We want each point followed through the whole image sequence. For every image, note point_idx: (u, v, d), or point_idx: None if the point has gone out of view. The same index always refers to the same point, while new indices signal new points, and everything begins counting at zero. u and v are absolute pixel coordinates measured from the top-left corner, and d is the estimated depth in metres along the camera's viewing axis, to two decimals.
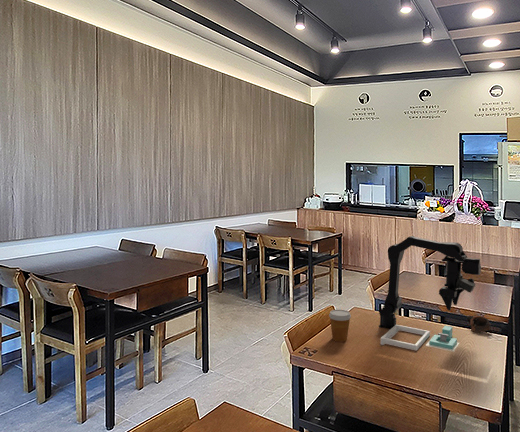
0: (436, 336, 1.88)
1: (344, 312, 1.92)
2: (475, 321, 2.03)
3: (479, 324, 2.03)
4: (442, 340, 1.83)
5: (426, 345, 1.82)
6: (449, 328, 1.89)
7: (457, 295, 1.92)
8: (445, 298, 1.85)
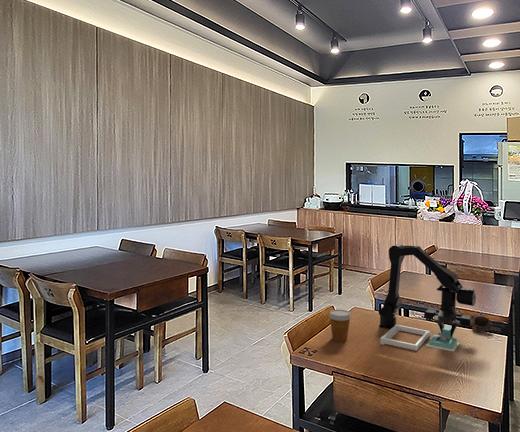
0: (436, 336, 1.88)
1: (344, 312, 1.92)
2: (476, 321, 2.03)
3: (480, 324, 2.04)
4: (442, 340, 1.83)
5: (426, 345, 1.82)
6: (449, 328, 1.89)
7: (451, 328, 1.88)
8: None
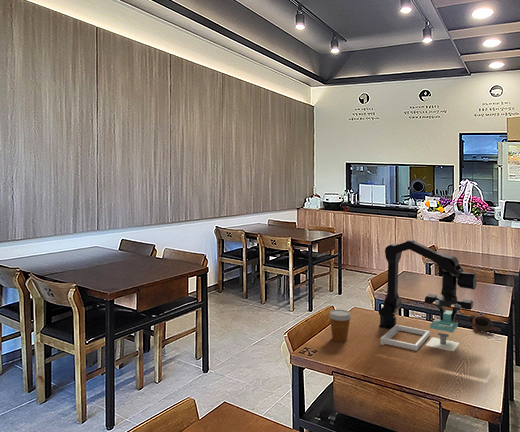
0: (437, 320, 1.87)
1: (344, 312, 1.92)
2: (477, 321, 2.03)
3: (481, 324, 2.04)
4: (442, 340, 1.83)
5: (426, 345, 1.82)
6: (450, 312, 1.88)
7: (452, 312, 1.87)
8: None
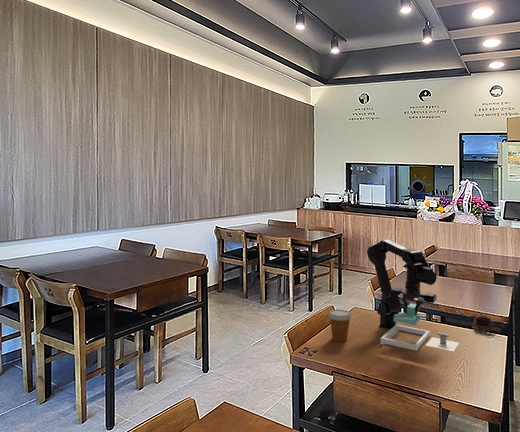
0: (401, 313, 1.90)
1: (344, 312, 1.92)
2: (478, 321, 2.03)
3: (482, 324, 2.04)
4: (442, 340, 1.83)
5: (426, 345, 1.82)
6: (414, 306, 1.91)
7: (416, 305, 1.90)
8: None
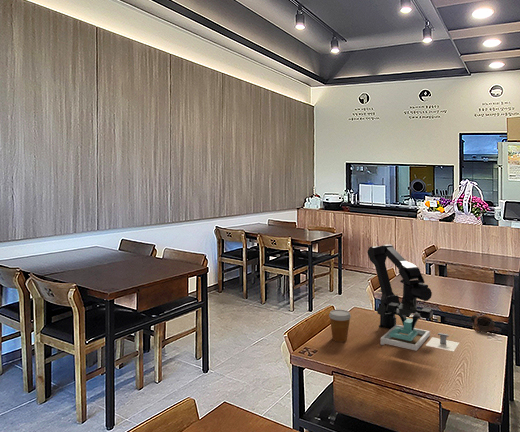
0: (397, 329, 1.91)
1: (344, 312, 1.92)
2: (479, 321, 2.04)
3: (483, 324, 2.04)
4: (442, 340, 1.83)
5: (426, 345, 1.82)
6: (410, 321, 1.92)
7: None
8: None
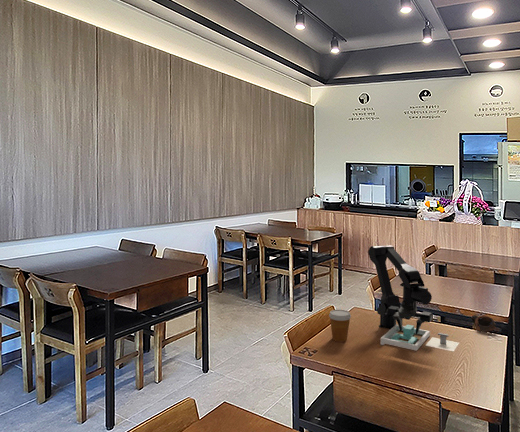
0: (397, 335, 1.91)
1: (344, 312, 1.92)
2: (480, 321, 2.04)
3: (483, 324, 2.04)
4: (442, 340, 1.83)
5: (426, 345, 1.82)
6: (410, 327, 1.92)
7: None
8: None
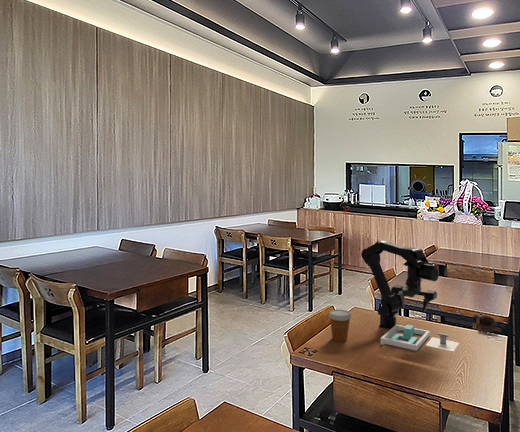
0: (397, 335, 1.91)
1: (344, 312, 1.92)
2: (481, 321, 2.04)
3: (485, 324, 2.04)
4: (442, 340, 1.83)
5: (426, 345, 1.82)
6: (410, 327, 1.92)
7: None
8: None
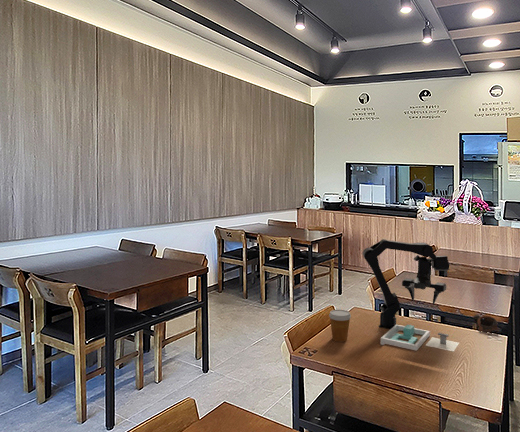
0: (397, 335, 1.91)
1: (344, 312, 1.92)
2: (482, 321, 2.04)
3: (486, 324, 2.04)
4: (442, 340, 1.83)
5: (426, 345, 1.82)
6: (410, 327, 1.92)
7: None
8: None
